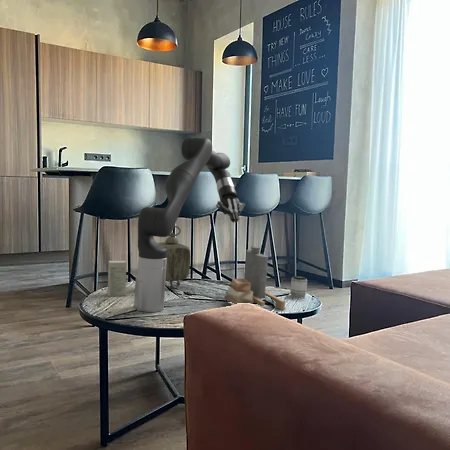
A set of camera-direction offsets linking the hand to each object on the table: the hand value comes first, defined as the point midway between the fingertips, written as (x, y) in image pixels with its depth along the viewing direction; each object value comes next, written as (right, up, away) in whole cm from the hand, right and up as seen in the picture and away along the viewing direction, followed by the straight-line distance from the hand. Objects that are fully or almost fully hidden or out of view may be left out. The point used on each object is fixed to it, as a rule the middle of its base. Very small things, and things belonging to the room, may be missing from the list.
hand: (235, 221), depth 185 cm
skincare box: (-44, -27, -22) cm, 56 cm away
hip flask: (+6, -30, -12) cm, 33 cm away
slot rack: (+7, -30, -15) cm, 34 cm away
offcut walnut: (+1, -31, -23) cm, 38 cm away
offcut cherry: (+1, -25, -23) cm, 34 cm away
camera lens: (+25, -30, -3) cm, 40 cm away
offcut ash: (+1, -28, -23) cm, 36 cm away
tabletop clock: (-27, -27, -7) cm, 38 cm away
